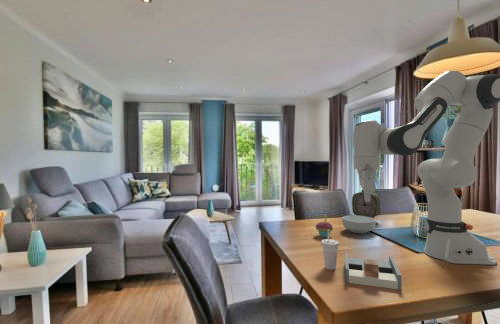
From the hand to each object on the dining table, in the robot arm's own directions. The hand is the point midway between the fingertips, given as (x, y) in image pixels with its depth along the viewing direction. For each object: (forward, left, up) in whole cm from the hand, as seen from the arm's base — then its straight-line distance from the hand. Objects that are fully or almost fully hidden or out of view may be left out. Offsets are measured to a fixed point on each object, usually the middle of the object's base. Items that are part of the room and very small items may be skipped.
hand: (367, 201), depth 98 cm
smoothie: (+13, +6, -24) cm, 28 cm away
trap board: (0, +9, -24) cm, 25 cm away
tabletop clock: (-5, -70, -24) cm, 74 cm away
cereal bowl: (+1, -45, -24) cm, 52 cm away
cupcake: (+18, -32, -24) cm, 44 cm away
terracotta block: (0, +14, -22) cm, 25 cm away
